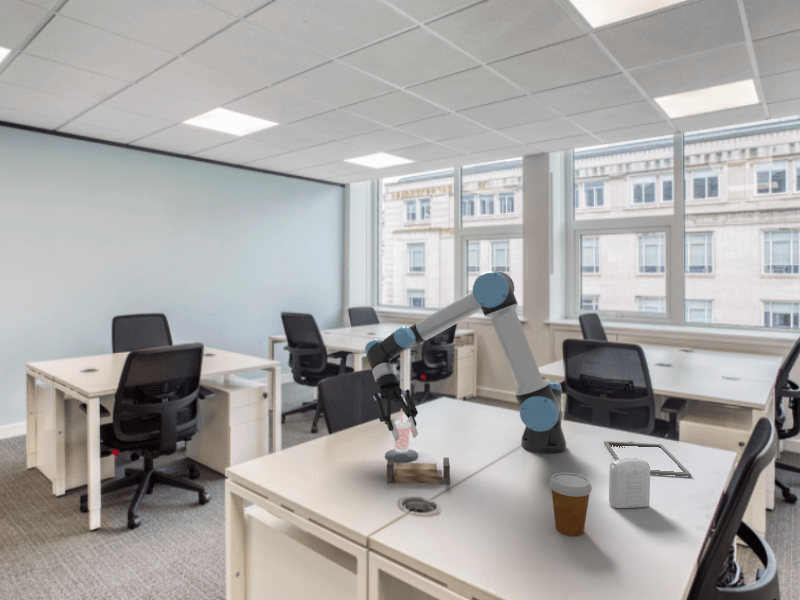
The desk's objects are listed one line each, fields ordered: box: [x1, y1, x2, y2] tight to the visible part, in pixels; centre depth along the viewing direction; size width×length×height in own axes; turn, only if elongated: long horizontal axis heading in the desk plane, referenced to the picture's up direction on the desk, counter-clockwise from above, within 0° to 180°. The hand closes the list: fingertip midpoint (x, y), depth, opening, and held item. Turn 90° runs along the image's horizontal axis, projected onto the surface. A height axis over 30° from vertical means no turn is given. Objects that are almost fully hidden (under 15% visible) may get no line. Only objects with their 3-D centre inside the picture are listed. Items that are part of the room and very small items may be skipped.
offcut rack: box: [386, 457, 451, 485], centre depth 145 cm, size 18×6×6 cm, turn 87°
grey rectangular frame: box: [603, 440, 692, 478], centre depth 163 cm, size 19×2×30 cm
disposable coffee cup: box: [548, 472, 593, 537], centre depth 116 cm, size 10×10×12 cm
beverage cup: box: [393, 408, 411, 452], centre depth 164 cm, size 6×6×14 cm
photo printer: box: [608, 458, 651, 509], centre depth 128 cm, size 10×4×12 cm, turn 98°
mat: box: [384, 448, 419, 463], centre depth 165 cm, size 11×11×1 cm
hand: (406, 437), depth 161 cm, fingers closed on beverage cup, 6 cm apart
